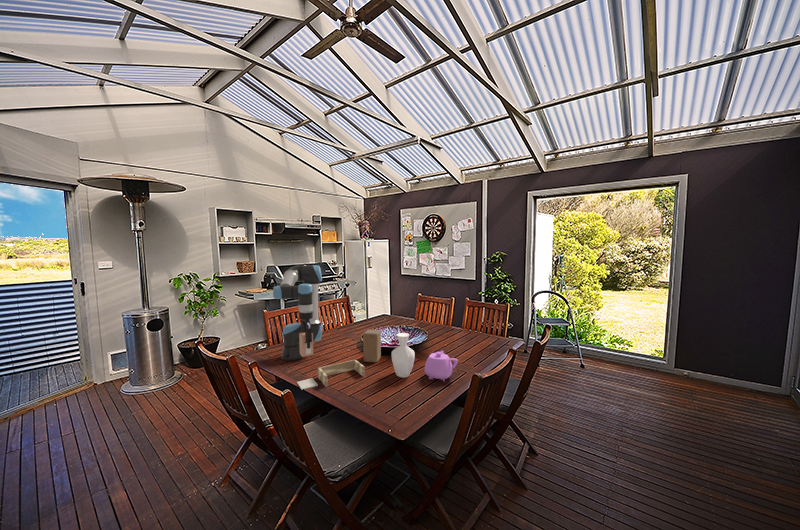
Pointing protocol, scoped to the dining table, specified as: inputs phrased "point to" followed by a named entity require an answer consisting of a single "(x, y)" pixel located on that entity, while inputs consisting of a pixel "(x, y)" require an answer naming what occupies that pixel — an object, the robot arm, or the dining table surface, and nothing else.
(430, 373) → the teapot
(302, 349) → the terracotta block
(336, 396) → the dining table surface
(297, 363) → the dining table surface
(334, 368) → the frame
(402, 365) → the vase
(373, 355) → the wooden block
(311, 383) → the white tile
